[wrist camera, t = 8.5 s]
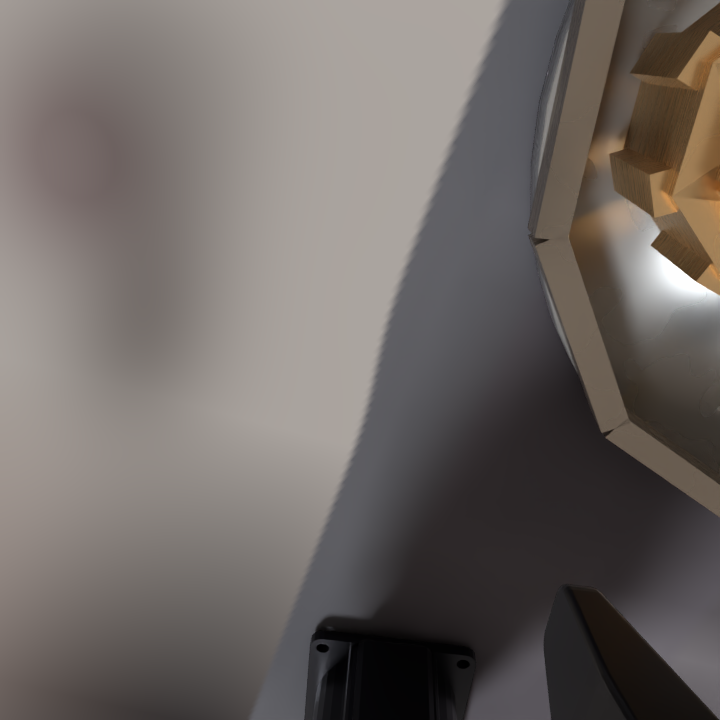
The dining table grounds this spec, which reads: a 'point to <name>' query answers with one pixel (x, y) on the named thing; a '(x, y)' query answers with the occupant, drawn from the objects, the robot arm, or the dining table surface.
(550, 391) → the dining table surface
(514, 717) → the dining table surface
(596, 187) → the carrier
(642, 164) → the planet gear
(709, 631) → the dining table surface
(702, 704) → the robot arm
